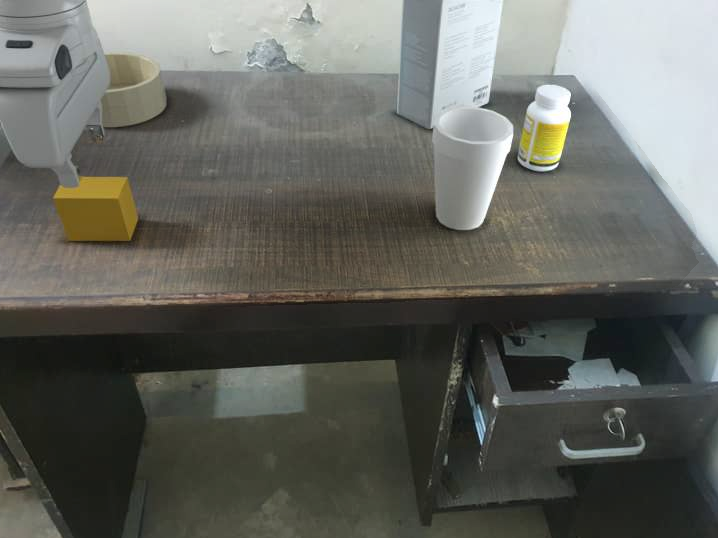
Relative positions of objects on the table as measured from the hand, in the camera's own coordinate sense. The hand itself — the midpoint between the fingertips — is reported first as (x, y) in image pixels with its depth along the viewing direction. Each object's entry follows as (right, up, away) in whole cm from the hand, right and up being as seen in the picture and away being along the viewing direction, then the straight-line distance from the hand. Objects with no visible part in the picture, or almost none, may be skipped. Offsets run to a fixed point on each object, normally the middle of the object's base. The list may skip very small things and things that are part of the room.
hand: (85, 161), depth 70 cm
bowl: (-10, +15, +30) cm, 35 cm away
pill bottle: (+55, +5, +25) cm, 61 cm away
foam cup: (+43, -4, +13) cm, 45 cm away
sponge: (-1, -7, +6) cm, 9 cm away
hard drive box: (+42, +16, +36) cm, 58 cm away
